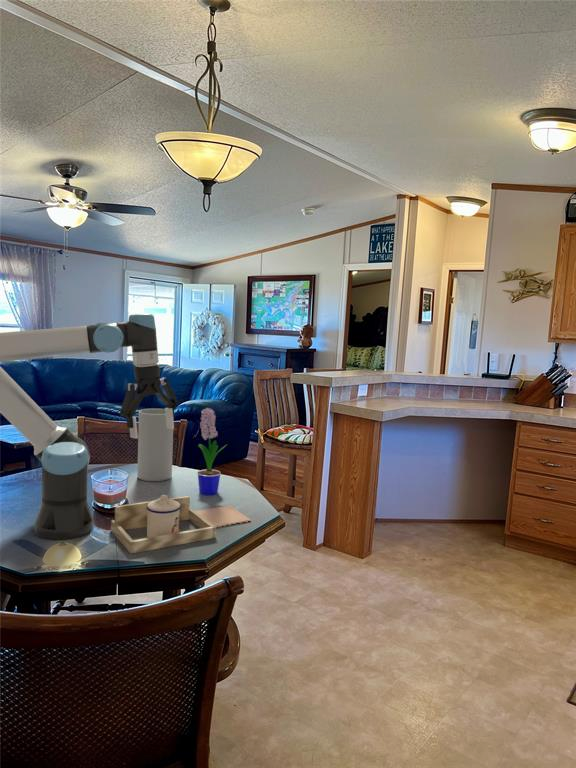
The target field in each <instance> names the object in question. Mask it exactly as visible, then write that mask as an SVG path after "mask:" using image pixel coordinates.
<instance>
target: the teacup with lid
mask: <svg viewBox="0 0 576 768" xmlns="http://www.w3.org/2000/svg"><path fill="white" fill-rule="evenodd" d="M150 501H151V502H150V503H148V505H147V510H148V511H147V526H146V538H150V537H156V536H161V535H167V534H173V533H178V532H180V521H179V512H180V507H181V506H180V504H179V502H177V501H175V500H171V499H170V498H168V495H167V494H161V495H160V497H159V498H157V499H154V500H150Z"/></svg>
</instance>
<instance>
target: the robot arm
mask: <svg viewBox="0 0 576 768" xmlns="http://www.w3.org/2000/svg"><path fill="white" fill-rule="evenodd" d="M129 347H131V351H132V352H131V353H132V365H134V367H133V373H134V379H135V383H129V382H128V383H126V391H125V395H124V397H123V402H122V404H121V408H120V412H119V416H121V417H125V418H126V426H127V428H128V429H129V435H130V436H129V437H130V438H132V439H136V440H138V426H137V425H138V424H137V417H136V416H135V413H136V412H137V410H138V408H139V407H140V404H141V402H142V401H143V399H144V398H145V397H148V396H151V395H152V396H154V395H156V396H157V397H158V399H159V400H160V401H161V402H162V403H163V404H164V406H166V407H165V408H164V409H165V413H166V424H167V428H169V429H173V430H174V429H175V424H174V420H173V418H175V409H176V408H177V405H179V404H180V403H179V400H178V398H177V396H176V394H175V392H174V391H173V388H172V387H171V385H170V380H169V378H168V377H160V376H161V372H160V370H161V369H160V365H159V352H158V351H159V349H158V340H157V328H156V321H155V316H154V315H153V314H152V313H138V314H137V313H136V314H130V315H129V316H128V320H127V321H119V322H97V323H90V324H88V325H79V326H68V327H67V326H66V327H55V328H43V329H30V330H20V331H19V330H18V331H17V330H16V331H7V332H4V331H3V332H0V363H3V362H13V361H25V360H33V359H42V358H43V359H45V358H52V357H63V356H72V355H83V354H94V353H114V352H116V351H118V350H119V349H120V348H129ZM160 386H161V387H162V388H161V387H160ZM162 389H163V390H162ZM164 392H165V393H164ZM0 414H1V415H2V416H3V417H4V418H5V419H6V420H7V421H8V422H9V423H10V424H11V425H13V427H14V428H15V429H16V430H17V431H19V433H20V434H21V435H22V436H23V437H24V438H25V439H26V440H27V441H28V442H29V443H30V444H31V445H32V446H33V449H34V450H33V455H34V456H35V457H36V458H37V459H38V461H40V463H41V505H40V508H39V510H38V511H39V512H38V514H37V516H36V518H35V522H34V534H35V535H36V536H38V537H39V538H42V539H48V540H66V539H67V540H68V539H74V538H78V537H82V536H84V535H87V534H89V533H90V532H92V530H93V529H94V518H93V514H92V512H91V509H90V505H89V503H88V471H89V470H88V469H89V465H90V464H89V463H90V460H91V454H90V449H89V446H88V445H87V444H86V442H85V441H84V440H83V439H81V438H80V437H78V436H76V435H74V433H72V431H71V430H70V429H69V428H68V427H66V426H59V425H57V424H56V423H55V422H54V421H53V419H52V418H50V417H49V415H48V414H46V411H44V410H43V409H42V407H40V406H39V405H38V404H37V403H36V401H34V400H33V399H32V398H31V396H30V395H28V394H27V392H26V391H24V389H23V388H22V387H21V386H20V385H19V384H18V383H17V382H16V381H15V379H13V378H12V377H11V376H10V375H9V374H8V373H7V372H6V371H5V369H4V368H2V367H1V366H0Z"/></svg>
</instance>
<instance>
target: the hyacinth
mask: <svg viewBox="0 0 576 768" xmlns="http://www.w3.org/2000/svg"><path fill="white" fill-rule="evenodd" d="M200 413H201V417H200V418H199V419H200V420H201V421H199V425H200V426H199V428H200V429H201V430H200V431H201V437H202V439H203V440H205V441H206V440H208V448H207V447H206V446H205V445H203V444H201V443H199V444H198V448H199V449H200V450H201V452H202V454H203V457H204V460H205V463H206V464H205V465H206V469H205V468H204V469H201V470H198V471H197V478H198V492H199V494H200V495H202V496H215V495H217V494H218V492H219V485H220V479H221V474H222V472H221V471H220V470H217V469H212V466H213V463H214V460H215V458H216V456H217V455H218V454H219V453H220V452H221V451H222V450H223V449H225V448H226V447H227V445H228V444H225V445H224V446H222V447H221V448H220V449H219V450H218V448H219V445H217V440H213V442H212V441H211V439H213V438H215V437H219V436H218V434H219V433H218V431H217V430H216V426H215V425H216V420H217V419H216V418H217V416H216V412H215V411H214V410H213V409H212V408H209V407H206V408H203V409H202V410H201V412H200Z"/></svg>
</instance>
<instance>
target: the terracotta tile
mask: <svg viewBox="0 0 576 768" xmlns="http://www.w3.org/2000/svg"><path fill="white" fill-rule="evenodd" d="M194 511H195V512H197V513H198V514H199V515H201V516H202V517H203V518H204V519H206V520H207V521H208V522H210V523H211V524H212V525H214V526H215V527H216V529H218V528H223V527H222V526H224V527H227V526H226V525H229V526H232V525H231V524H235V525H237V524H236V523H240V524H243V523H242V522H246V523H249V522H248V521H251V522H252V519H251V518H249V517H248V516H247V515H245V514H243V513H241V512H240V511H238V510H237V509H235V508H234V507H233V506H231V505H224V506H218V507H212V508H211V507H210V508H204V509H198V510H194ZM217 527H218V528H217Z"/></svg>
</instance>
